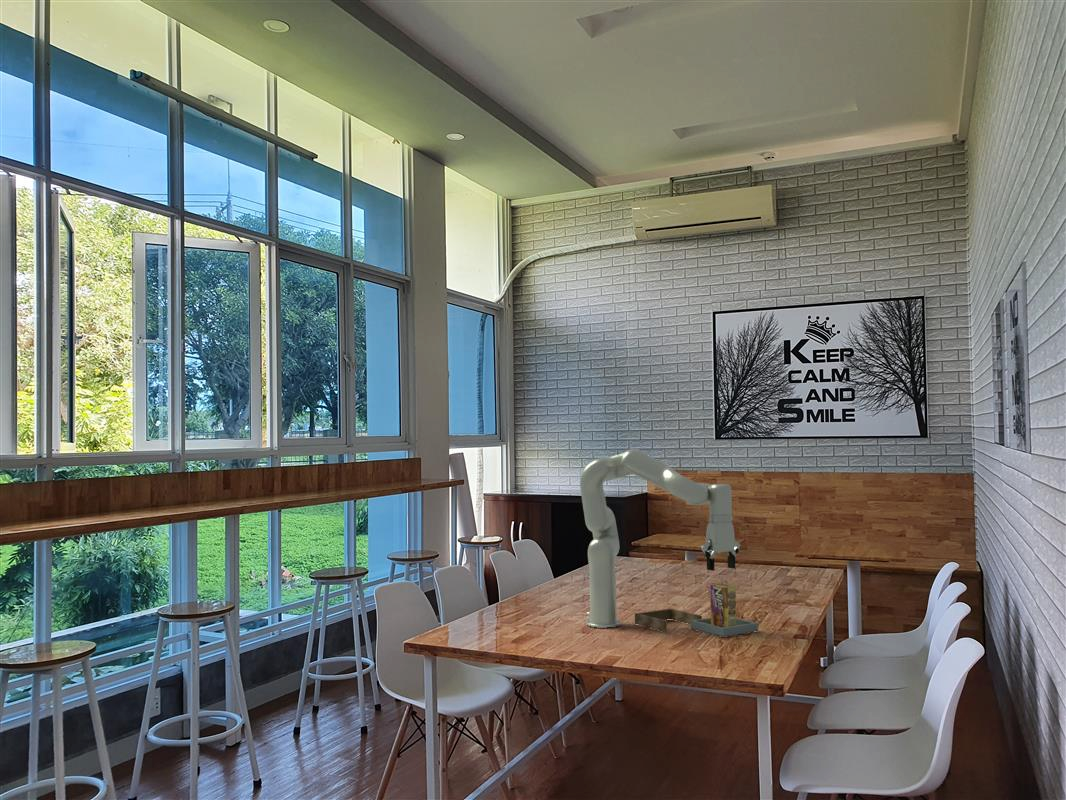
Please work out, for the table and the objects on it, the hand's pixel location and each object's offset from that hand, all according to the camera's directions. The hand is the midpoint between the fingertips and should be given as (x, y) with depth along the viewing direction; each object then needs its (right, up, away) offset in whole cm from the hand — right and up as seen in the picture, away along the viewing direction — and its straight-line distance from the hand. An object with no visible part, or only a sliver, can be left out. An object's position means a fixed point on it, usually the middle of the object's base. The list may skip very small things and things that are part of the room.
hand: (721, 569), depth 283 cm
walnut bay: (-17, -22, +7) cm, 29 cm away
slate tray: (+1, -21, -1) cm, 21 cm away
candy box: (+1, -21, -1) cm, 21 cm away
